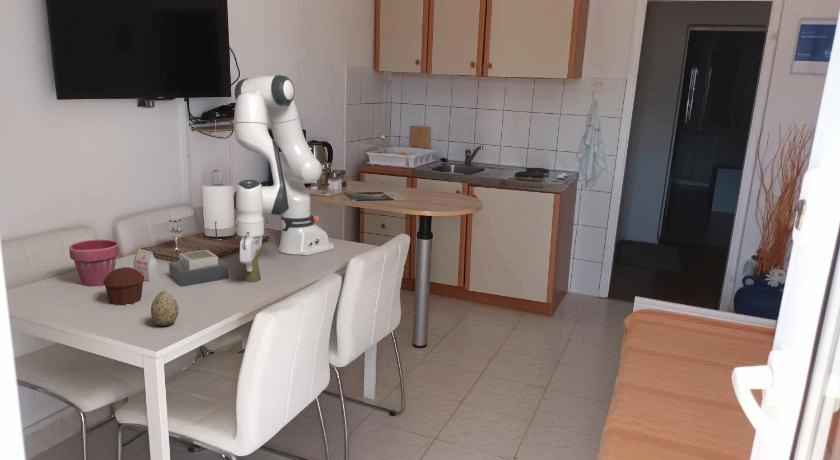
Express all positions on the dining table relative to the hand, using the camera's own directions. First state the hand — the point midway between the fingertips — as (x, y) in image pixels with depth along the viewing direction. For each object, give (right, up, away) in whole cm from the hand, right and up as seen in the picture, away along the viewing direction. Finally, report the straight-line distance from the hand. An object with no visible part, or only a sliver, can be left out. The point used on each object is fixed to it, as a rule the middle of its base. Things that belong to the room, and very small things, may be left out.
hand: (251, 267), depth 211 cm
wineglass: (-37, +5, +29) cm, 47 cm away
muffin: (-32, -9, -22) cm, 40 cm away
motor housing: (-18, -3, 0) cm, 18 cm away
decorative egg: (-14, -14, -38) cm, 43 cm away
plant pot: (-49, -4, -8) cm, 49 cm away
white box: (-35, -4, -3) cm, 35 cm away
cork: (0, -4, +1) cm, 4 cm away
